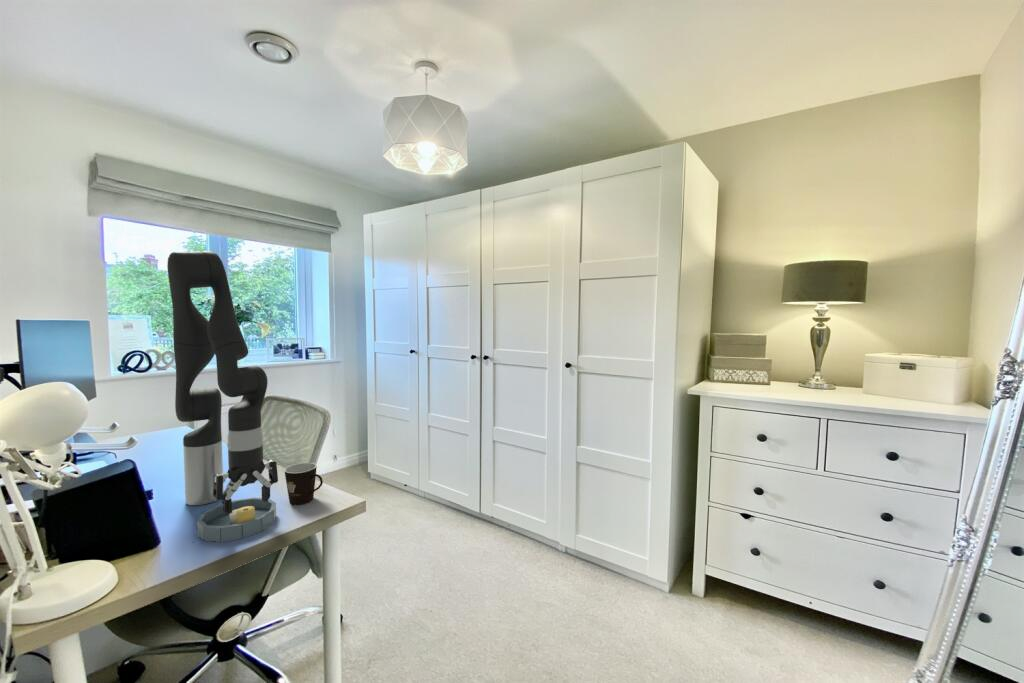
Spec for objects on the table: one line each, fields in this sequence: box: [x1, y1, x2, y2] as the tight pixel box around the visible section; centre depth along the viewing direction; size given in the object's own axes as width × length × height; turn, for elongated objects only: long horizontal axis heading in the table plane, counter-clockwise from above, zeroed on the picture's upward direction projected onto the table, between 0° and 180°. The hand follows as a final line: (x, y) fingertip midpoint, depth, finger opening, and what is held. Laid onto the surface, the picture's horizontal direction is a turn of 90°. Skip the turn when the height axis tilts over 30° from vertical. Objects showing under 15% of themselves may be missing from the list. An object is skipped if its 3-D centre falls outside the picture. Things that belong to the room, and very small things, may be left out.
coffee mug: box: [283, 462, 324, 506], centre depth 124 cm, size 12×9×10 cm
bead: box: [236, 506, 255, 524], centre depth 107 cm, size 4×4×5 cm
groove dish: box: [196, 497, 277, 543], centre depth 110 cm, size 17×17×4 cm
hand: (247, 506), depth 108 cm, fingers open, 8 cm apart
